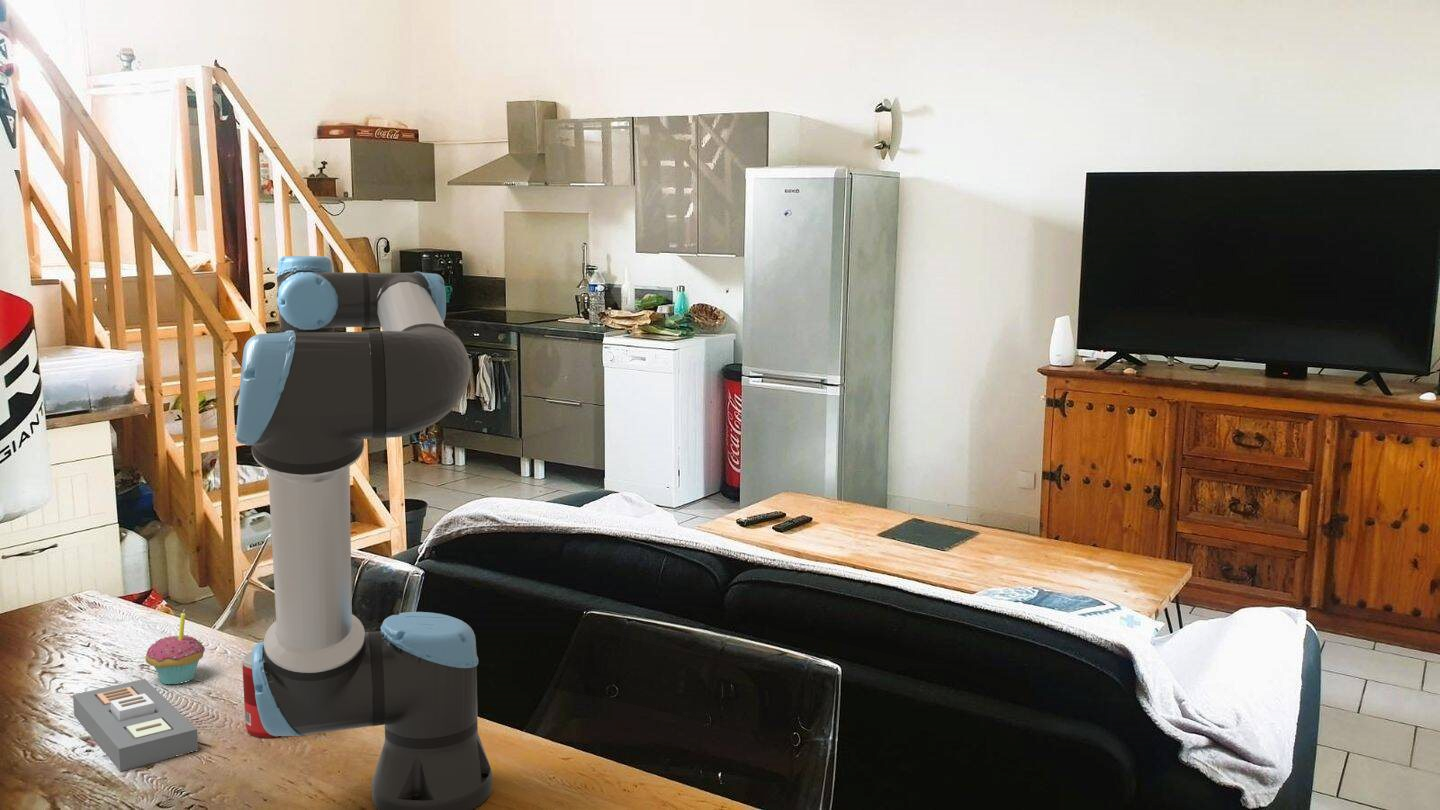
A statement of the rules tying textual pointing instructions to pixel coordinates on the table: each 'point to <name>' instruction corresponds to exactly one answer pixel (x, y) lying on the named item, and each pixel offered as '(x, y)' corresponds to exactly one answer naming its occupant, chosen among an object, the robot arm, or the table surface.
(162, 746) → the keypad
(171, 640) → the cupcake
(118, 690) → the tile
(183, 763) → the table surface
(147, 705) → the tile
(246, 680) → the canned food
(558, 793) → the table surface
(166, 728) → the tile
